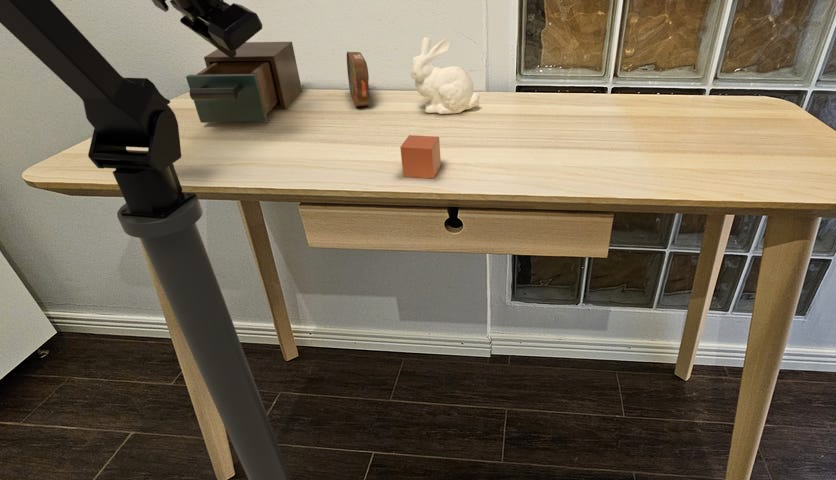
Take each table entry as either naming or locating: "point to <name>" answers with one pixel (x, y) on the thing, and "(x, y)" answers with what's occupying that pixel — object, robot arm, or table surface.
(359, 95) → the tin
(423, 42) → the rabbit
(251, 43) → the cabinet
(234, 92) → the drawer
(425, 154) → the block
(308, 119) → the table surface
